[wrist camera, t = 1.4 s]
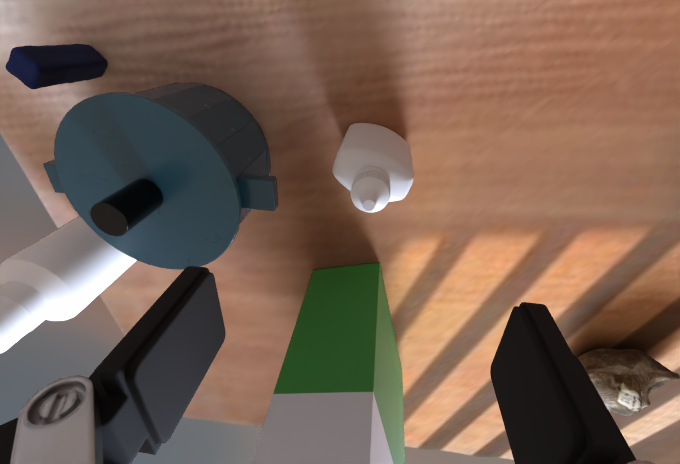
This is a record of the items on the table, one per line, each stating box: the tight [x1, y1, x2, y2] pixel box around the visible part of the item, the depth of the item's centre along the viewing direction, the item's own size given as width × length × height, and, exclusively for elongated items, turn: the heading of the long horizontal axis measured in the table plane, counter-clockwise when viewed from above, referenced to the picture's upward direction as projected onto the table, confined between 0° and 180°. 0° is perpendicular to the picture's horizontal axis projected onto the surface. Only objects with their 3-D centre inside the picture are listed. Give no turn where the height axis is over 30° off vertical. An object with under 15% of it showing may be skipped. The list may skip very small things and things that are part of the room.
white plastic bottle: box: [0, 216, 137, 353], centre depth 30 cm, size 7×7×18 cm
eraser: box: [6, 44, 107, 89], centre depth 26 cm, size 2×2×7 cm
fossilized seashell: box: [578, 348, 680, 416], centre depth 37 cm, size 8×7×10 cm
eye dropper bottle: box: [333, 123, 414, 213], centre depth 24 cm, size 4×6×12 cm
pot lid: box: [54, 92, 241, 269], centre depth 23 cm, size 14×14×5 cm
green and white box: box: [251, 263, 405, 464], centre depth 31 cm, size 18×7×24 cm, turn 13°
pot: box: [43, 83, 278, 223], centre depth 28 cm, size 13×18×8 cm
